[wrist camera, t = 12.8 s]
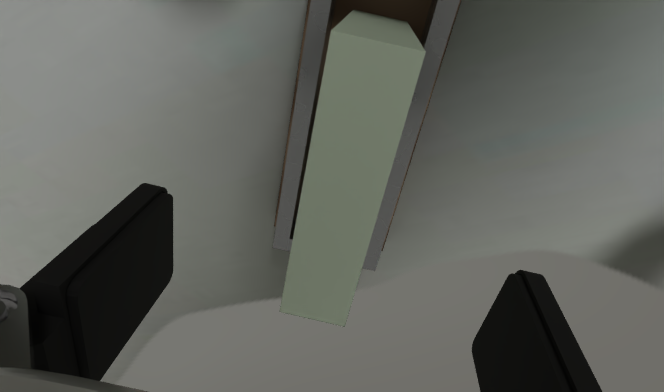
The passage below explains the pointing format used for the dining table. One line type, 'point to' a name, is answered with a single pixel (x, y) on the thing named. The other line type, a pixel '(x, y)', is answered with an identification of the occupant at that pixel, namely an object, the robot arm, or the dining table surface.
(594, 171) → the dining table surface
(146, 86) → the dining table surface
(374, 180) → the pale green rectangular block
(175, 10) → the dining table surface
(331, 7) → the open rectangular box
